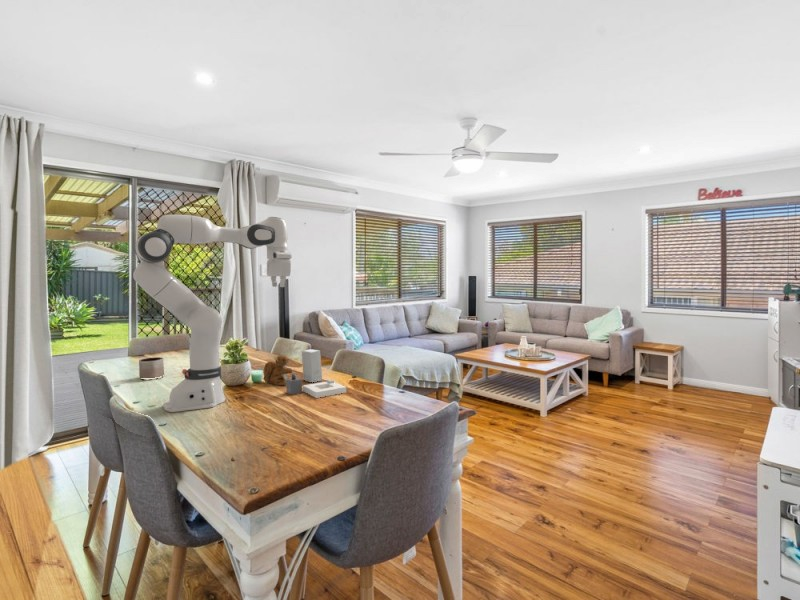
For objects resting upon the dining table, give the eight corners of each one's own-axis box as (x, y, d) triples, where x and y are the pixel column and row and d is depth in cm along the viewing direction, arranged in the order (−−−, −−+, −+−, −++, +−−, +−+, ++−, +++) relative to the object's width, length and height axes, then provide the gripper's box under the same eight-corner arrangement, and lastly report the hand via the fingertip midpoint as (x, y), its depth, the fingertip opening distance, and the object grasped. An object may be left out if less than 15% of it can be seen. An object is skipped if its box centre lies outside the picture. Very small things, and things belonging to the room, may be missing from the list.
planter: (134, 380, 219) (133, 360, 219) (152, 375, 230) (151, 356, 229) (151, 381, 216) (150, 361, 215) (169, 376, 226) (168, 357, 226)
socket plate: (316, 398, 183) (316, 390, 183) (302, 391, 195) (302, 383, 195) (346, 392, 191) (346, 385, 191) (331, 386, 203) (331, 379, 203)
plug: (290, 395, 189) (290, 376, 188) (286, 392, 193) (286, 374, 193) (301, 393, 192) (301, 374, 191) (297, 390, 196) (297, 372, 195)
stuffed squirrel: (286, 385, 204) (285, 357, 204) (257, 385, 207) (257, 357, 206) (295, 380, 214) (294, 353, 213) (267, 379, 217) (266, 353, 216)
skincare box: (322, 381, 212) (321, 350, 211) (311, 383, 208) (310, 352, 207) (312, 378, 218) (312, 348, 217) (302, 380, 214) (301, 349, 213)
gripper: (262, 255, 200) (263, 286, 201) (278, 254, 183) (279, 287, 184) (276, 256, 203) (277, 286, 204) (293, 254, 187) (294, 287, 188)
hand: (278, 286), depth 194 cm, fingers open, 8 cm apart
